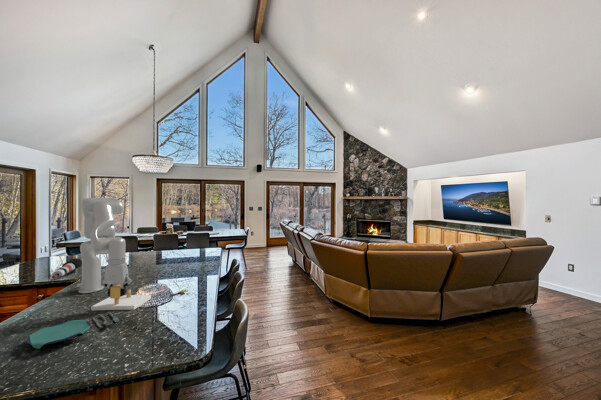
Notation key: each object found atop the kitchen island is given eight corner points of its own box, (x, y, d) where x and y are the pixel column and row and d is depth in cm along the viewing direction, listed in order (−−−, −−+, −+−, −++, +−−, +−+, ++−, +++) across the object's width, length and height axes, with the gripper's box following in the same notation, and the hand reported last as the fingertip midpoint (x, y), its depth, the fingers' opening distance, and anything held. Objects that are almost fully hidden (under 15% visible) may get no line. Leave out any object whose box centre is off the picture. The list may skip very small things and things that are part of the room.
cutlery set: (24, 337, 106) (24, 332, 106) (110, 313, 129) (110, 309, 130) (27, 355, 94) (27, 349, 94) (123, 325, 117) (123, 320, 117)
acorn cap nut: (107, 298, 133) (107, 287, 133) (115, 294, 138) (115, 284, 138) (118, 298, 133) (118, 287, 133) (125, 294, 139) (125, 284, 139)
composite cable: (171, 297, 151) (171, 293, 151) (168, 295, 155) (168, 291, 155) (188, 293, 158) (188, 289, 158) (185, 291, 161) (185, 287, 161)
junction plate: (91, 310, 132) (91, 298, 132) (112, 298, 148) (112, 288, 148) (134, 309, 133) (134, 298, 133) (151, 298, 149) (151, 287, 149)
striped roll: (55, 267, 183) (65, 277, 186) (77, 256, 215) (85, 265, 217) (41, 276, 180) (51, 286, 183) (64, 263, 212) (73, 272, 214)
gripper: (95, 263, 132) (95, 298, 132) (128, 263, 133) (128, 297, 132) (105, 260, 140) (105, 293, 139) (137, 259, 140) (137, 292, 140)
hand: (116, 295), depth 136 cm, fingers closed on acorn cap nut, 5 cm apart
